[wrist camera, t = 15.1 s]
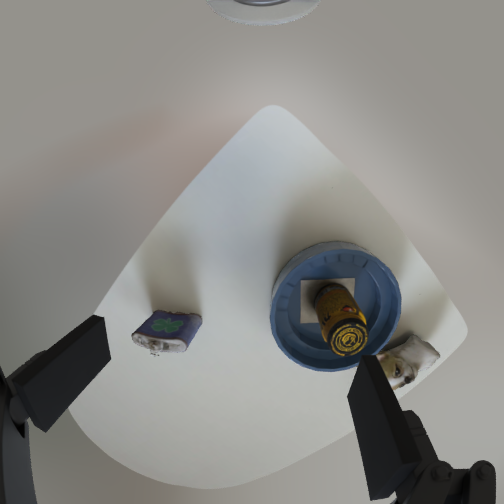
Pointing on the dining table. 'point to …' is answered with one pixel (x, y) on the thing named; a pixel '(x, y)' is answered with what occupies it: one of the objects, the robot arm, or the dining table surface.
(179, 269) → the dining table surface
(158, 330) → the flask
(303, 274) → the basin
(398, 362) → the ceramic sculpture
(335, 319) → the condiment
